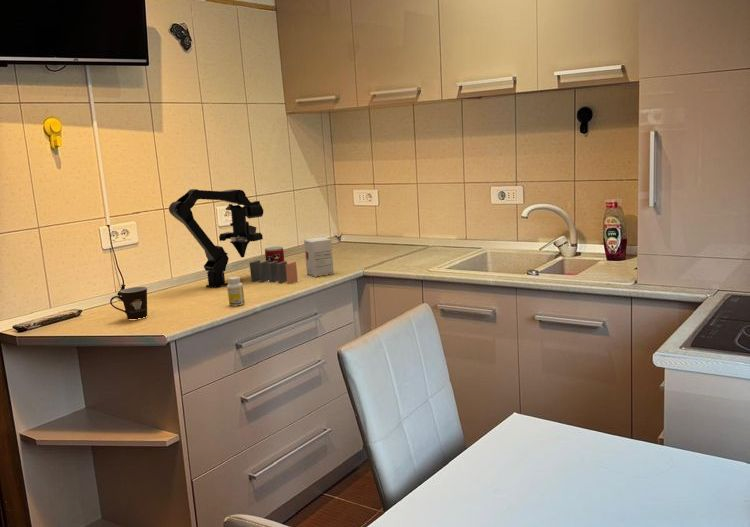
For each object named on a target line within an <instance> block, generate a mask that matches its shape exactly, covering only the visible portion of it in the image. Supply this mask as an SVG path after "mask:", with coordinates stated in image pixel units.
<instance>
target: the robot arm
mask: <svg viewBox="0 0 750 527" xmlns="http://www.w3.org/2000/svg"><path fill="white" fill-rule="evenodd" d="M198 200H208V201H211V200H212V201H222V202H226V203H229V204H228V205H227V206H226V208H225V210H226V211H230V215H231V216H230V217H231V222H230V224H229V225H230V227H232V231H231V232H230V231H229V232H226V231H225V232H224V233H220V234H219V236H218V238H219V239H218V240H219V241H220V242H224V241H226V240H229V239H230V244H232V245H233V248H235V249H236V252H237V253H238V254H239V257H240V258H245V255H246V251H247V248H248V245H249V243H250V242H257V241H261V240H264V239H263V234H262V232H257V227H256V226H253V225H250V222H249V221H247V219H254V218H262V217H263V215H264V208H263V206H262V204H261V202H260V200H254V201H250V200H249V198H248V197H247V195H246V192H245V191H244V189H226V190H219V191H218V190H205V189H204V190H203V189H197V188H196V189H195V188H193V189H192V188H191V189H189V190H188V191H187V192H186V193H185V194H183V195H181V197H179V198H178V199H177V200H176V201H173V202H171V203H170V205H169V206H168V211H169V213H170V215H171V216H172V217H174V219H175V220H177V221H179V222H180V223H181V224H183V225H184V227H185V228H186V229H187V231H188V232H189V233H190V234H191V236H193V238H194V239H195V240H196V242H197V243H198V244H199V245H200V247H201V248H202V249H203V250H204V254H205V256H206V259H207V261H206V262H205V264H203V269H204V271H206V274H207V275H206V276H207V281H208V284H207V285H205V287H206V288H220V287H223V286H226V285H227V286H228V284H229V282H226V278H225V271H226V269H227V268H226V267H227V265H228V263H229V256H228V255H229V253H227V252H226V250H225V249H224V247H223V246H220V245H215V244H214V243H213V241H212V240H211V239H210V237H209V236H208V235H207V233H206V232H205V231H204V230H203V228H202V227H201V226H200V225H199V223H198V222H197V220H195V218H194V214H193V211H192V208H193V207H194V206H195V204H196V203H197V201H198ZM234 204H235V205H234ZM236 204H237V205H236Z"/></svg>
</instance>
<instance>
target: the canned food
mask: <svg viewBox="0 0 750 527" xmlns="http://www.w3.org/2000/svg"><path fill="white" fill-rule="evenodd" d="M284 253H285V252H284V246H281V245H280V246H269V247H266V248H265V249H264V256H265V261H269V263H270V262H273V261H278V263H280V262H283V261H285V255H284Z"/></svg>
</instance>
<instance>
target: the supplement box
mask: <svg viewBox="0 0 750 527" xmlns="http://www.w3.org/2000/svg"><path fill="white" fill-rule="evenodd" d="M303 246H304V255H305V266H306V274H307V275H308V274H309V276H311V277H313V276H314V277H313V278H318V277H317V276H319V277H323V276H322V275H325V276H329V275H328V274H331V275H335V273H334V271H335V269H334V258H333V245H332V239H331V238H327V237H324V236H320V237H314V238H307V239H303Z"/></svg>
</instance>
